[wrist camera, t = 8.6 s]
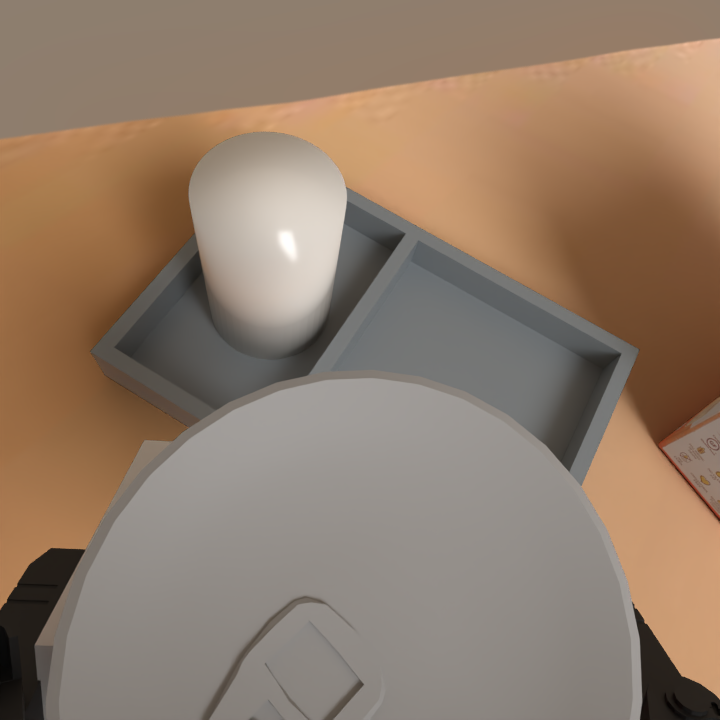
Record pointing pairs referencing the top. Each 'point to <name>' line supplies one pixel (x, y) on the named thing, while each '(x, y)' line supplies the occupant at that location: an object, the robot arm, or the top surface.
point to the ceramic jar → (268, 240)
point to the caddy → (387, 337)
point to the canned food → (350, 570)
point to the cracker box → (699, 453)
